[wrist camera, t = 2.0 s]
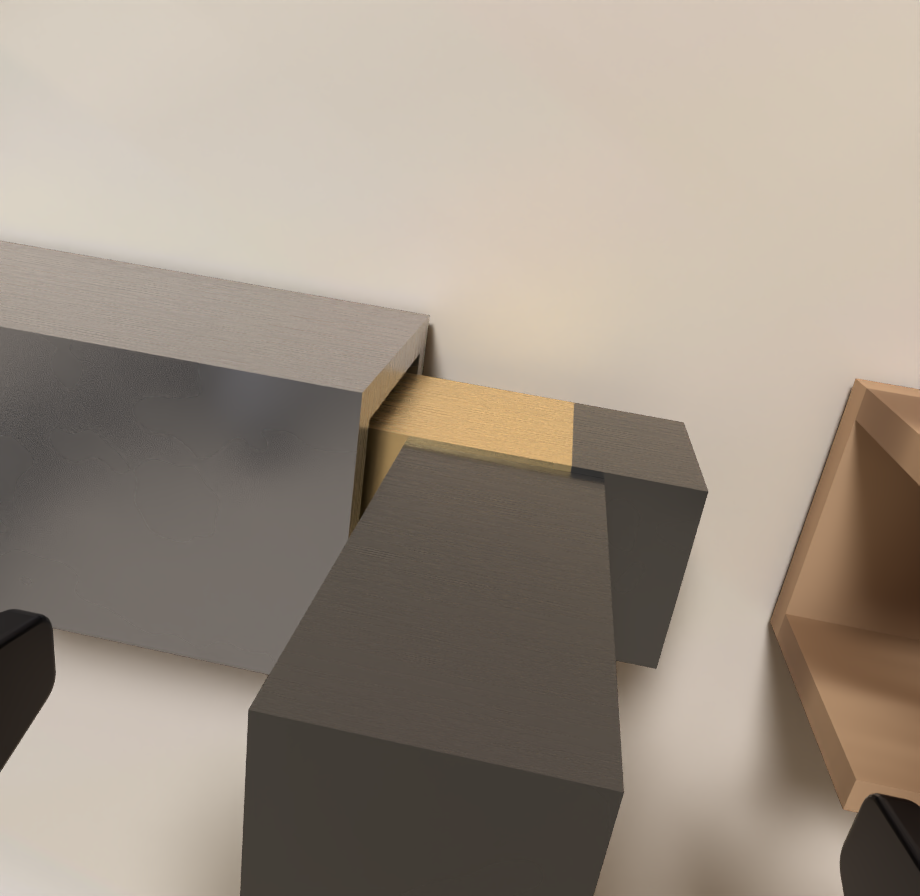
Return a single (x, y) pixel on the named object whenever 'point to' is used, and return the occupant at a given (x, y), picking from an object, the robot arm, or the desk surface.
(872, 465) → the socket
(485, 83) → the desk surface
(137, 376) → the sleeve
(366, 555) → the slider
